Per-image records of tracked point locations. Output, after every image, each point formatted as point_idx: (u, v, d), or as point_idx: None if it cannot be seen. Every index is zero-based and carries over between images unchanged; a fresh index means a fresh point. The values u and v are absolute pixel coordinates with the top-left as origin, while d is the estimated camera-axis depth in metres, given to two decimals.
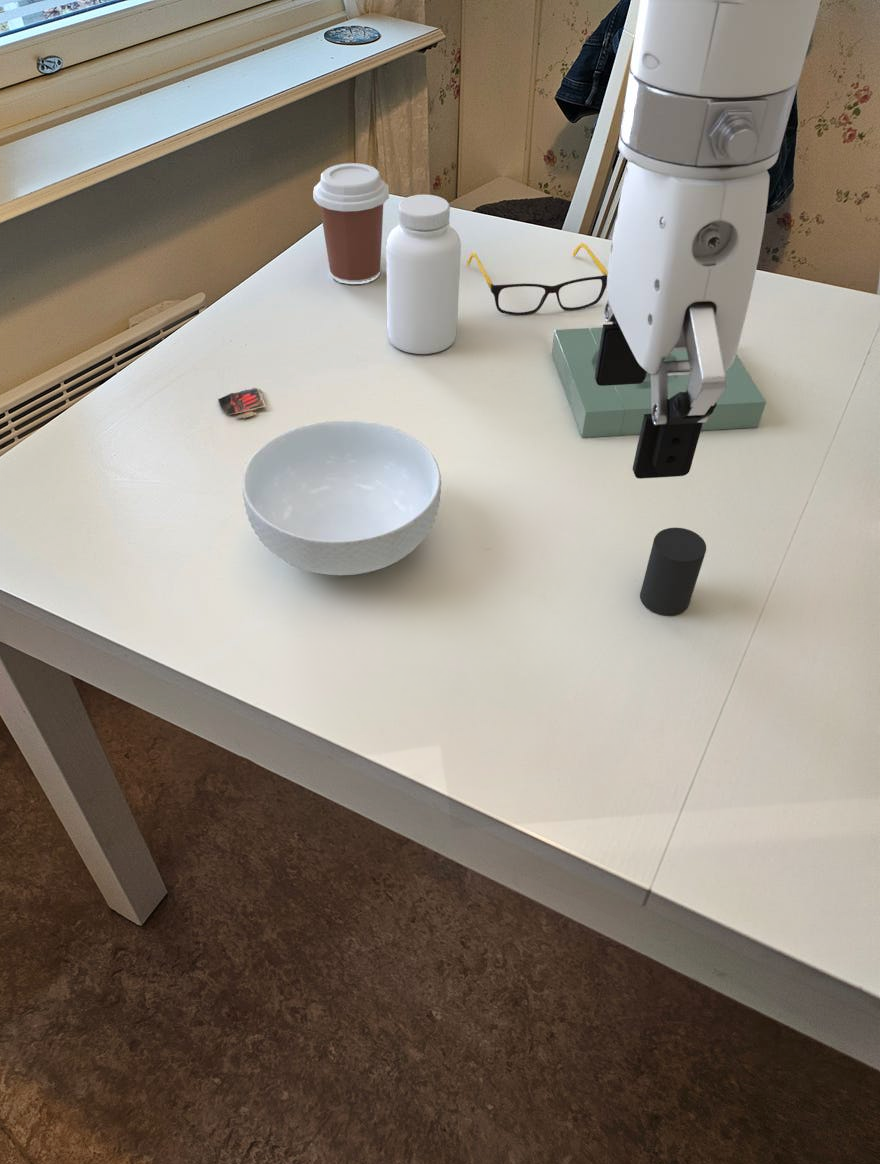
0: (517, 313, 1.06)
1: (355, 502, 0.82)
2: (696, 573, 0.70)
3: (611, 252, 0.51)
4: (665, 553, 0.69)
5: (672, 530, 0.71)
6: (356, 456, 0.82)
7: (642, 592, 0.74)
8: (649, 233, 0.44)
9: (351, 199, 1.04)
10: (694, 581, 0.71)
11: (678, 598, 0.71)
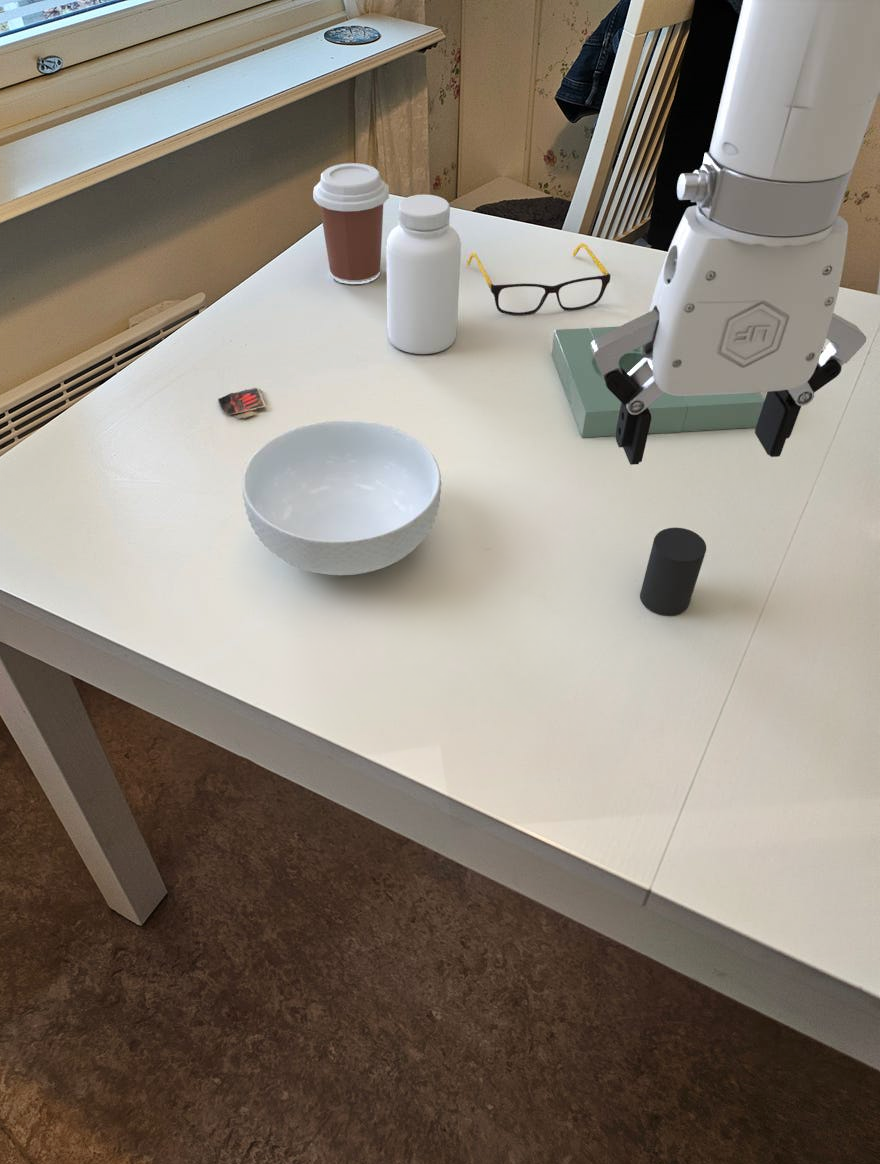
0: (517, 313, 1.06)
1: (355, 502, 0.82)
2: (696, 573, 0.70)
3: None
4: (665, 553, 0.69)
5: (672, 530, 0.71)
6: (356, 456, 0.82)
7: (642, 592, 0.74)
8: None
9: (351, 199, 1.04)
10: (694, 581, 0.71)
11: (678, 598, 0.71)
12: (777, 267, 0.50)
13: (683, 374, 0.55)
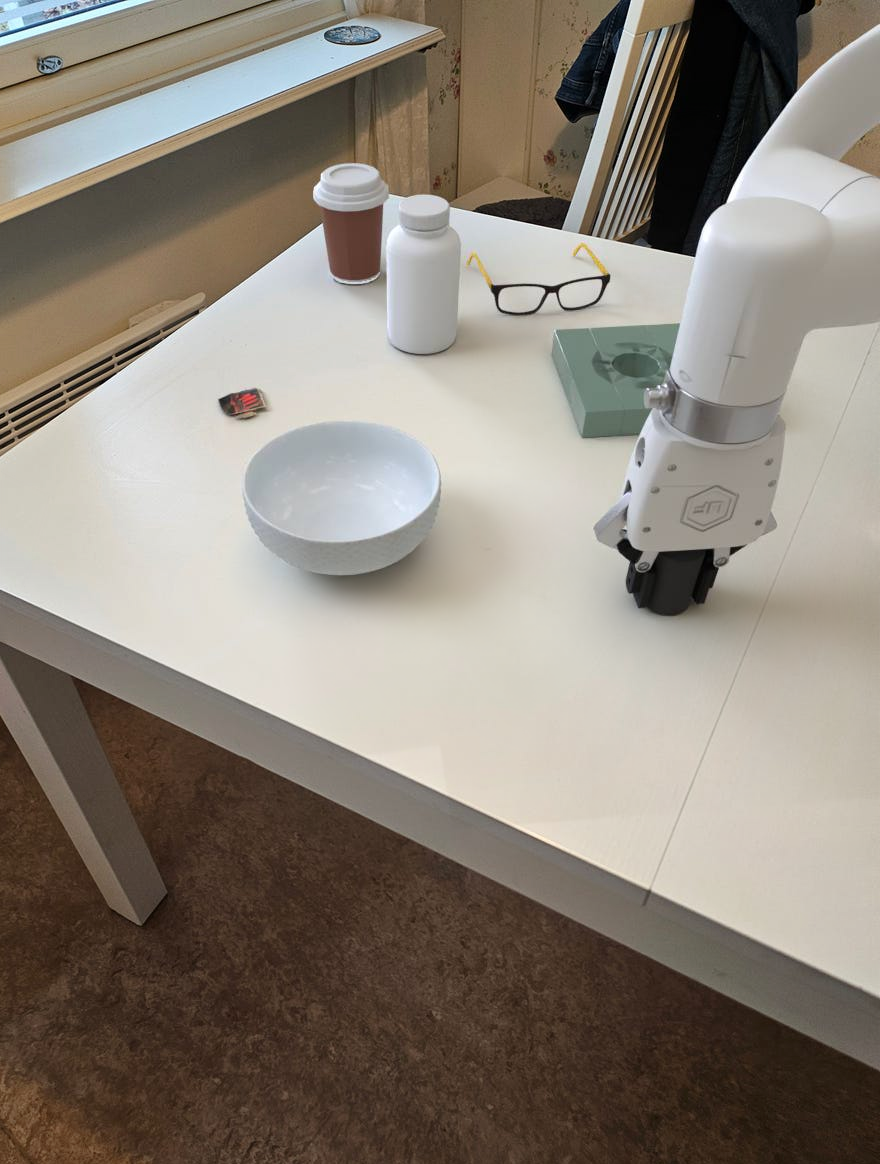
0: (517, 313, 1.06)
1: (355, 502, 0.82)
2: (696, 573, 0.70)
3: None
4: (665, 553, 0.69)
5: None
6: (356, 456, 0.82)
7: None
8: None
9: (351, 199, 1.04)
10: (694, 581, 0.71)
11: (678, 598, 0.71)
12: (727, 461, 0.61)
13: (652, 537, 0.65)
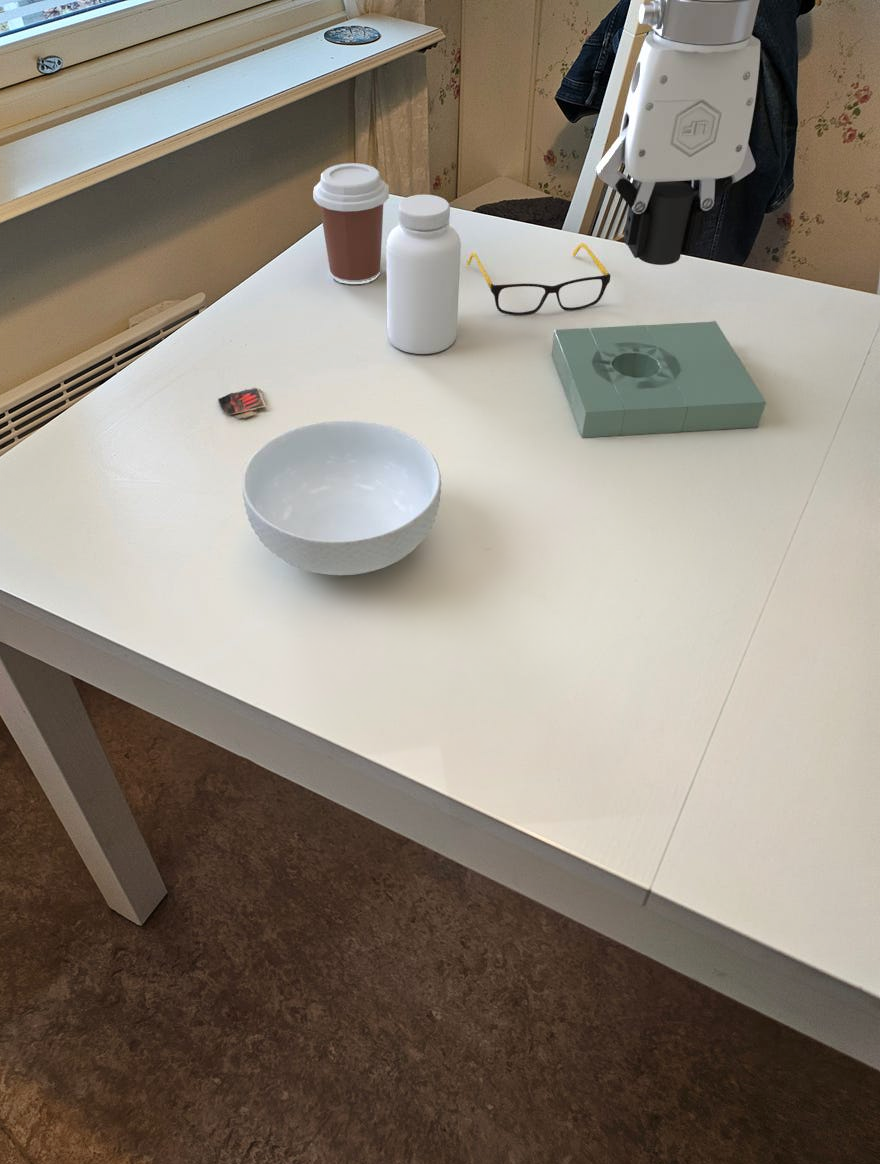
0: (517, 313, 1.06)
1: (355, 502, 0.82)
2: (685, 215, 0.80)
3: None
4: (658, 194, 0.79)
5: None
6: (356, 456, 0.82)
7: None
8: None
9: (351, 199, 1.04)
10: (684, 226, 0.81)
11: (670, 243, 0.82)
12: (710, 72, 0.71)
13: (646, 162, 0.76)
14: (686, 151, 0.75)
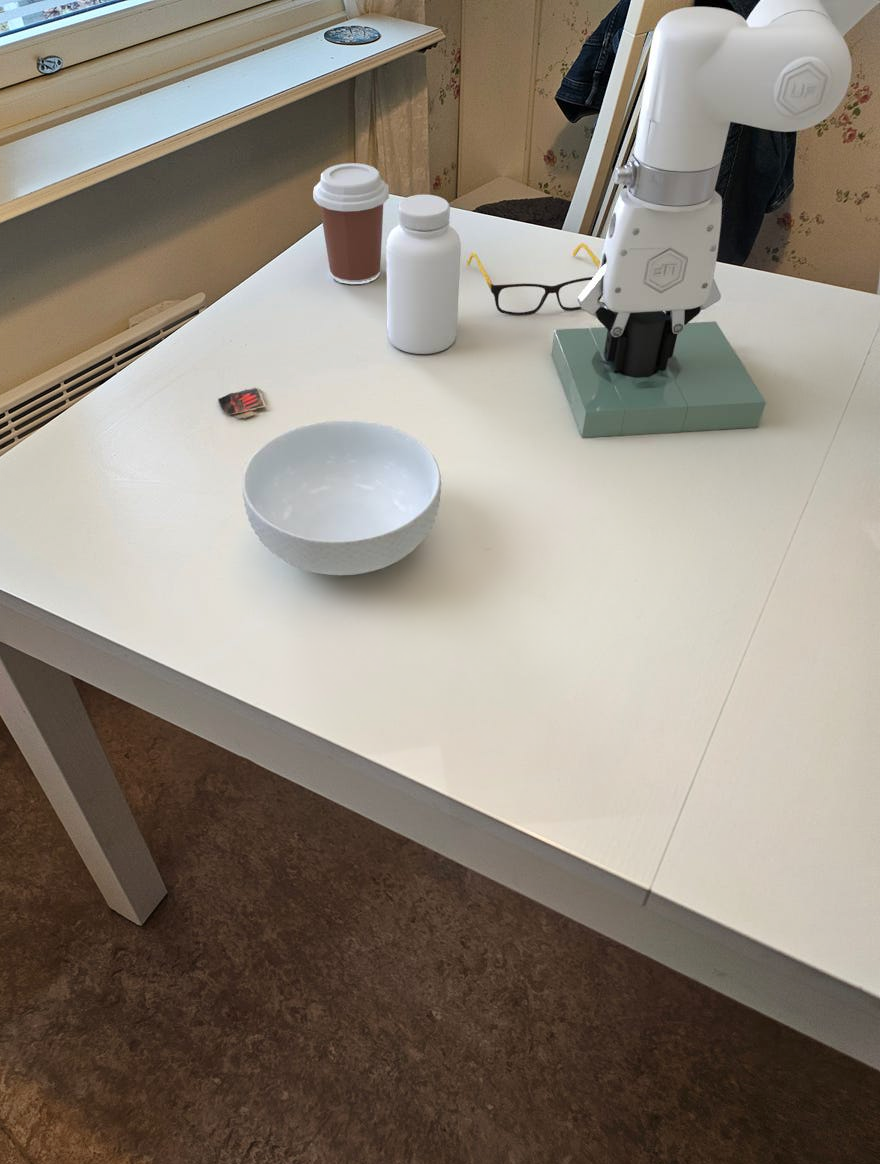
0: (517, 313, 1.06)
1: (355, 502, 0.82)
2: (658, 338, 0.89)
3: None
4: (634, 320, 0.88)
5: None
6: (356, 456, 0.82)
7: None
8: None
9: (351, 199, 1.04)
10: (657, 346, 0.90)
11: (644, 361, 0.91)
12: (677, 225, 0.80)
13: (622, 297, 0.85)
14: (657, 288, 0.84)
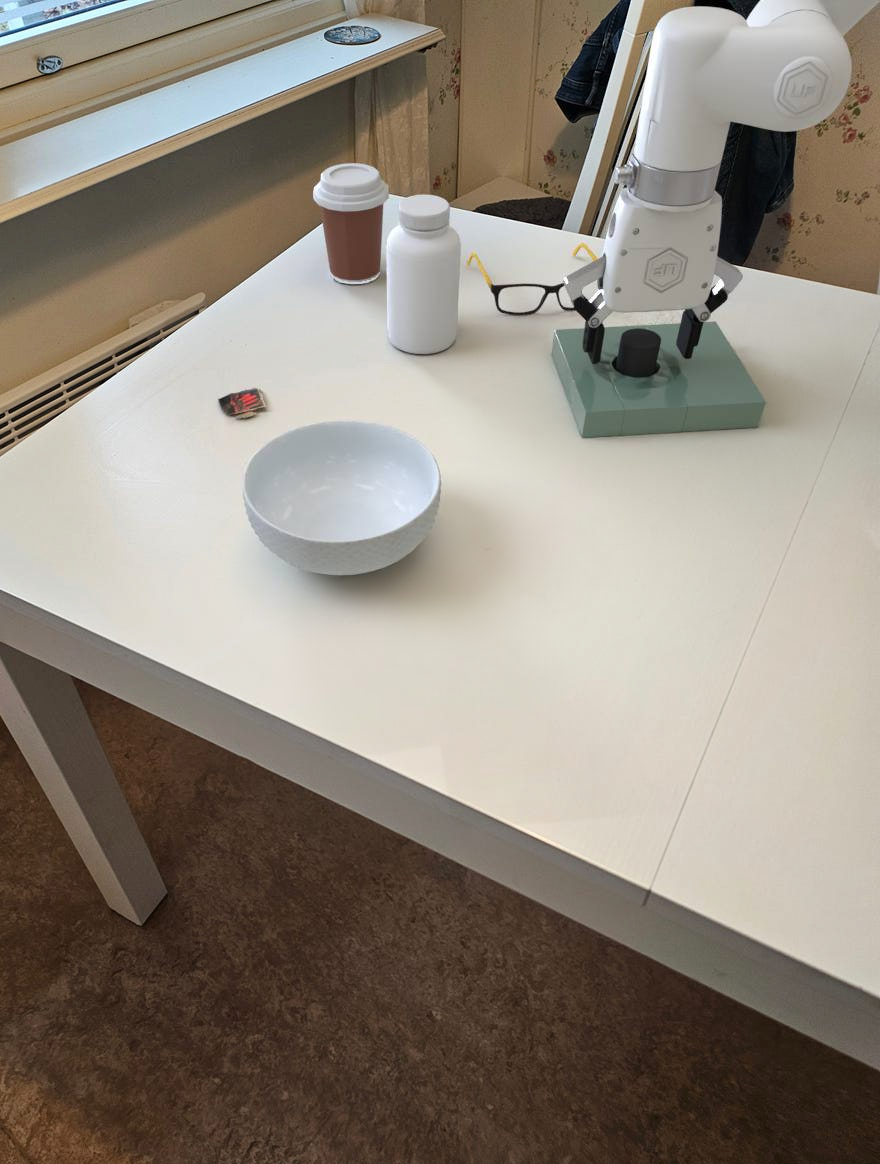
0: (517, 313, 1.06)
1: (355, 502, 0.82)
2: (653, 361, 0.91)
3: None
4: (629, 343, 0.90)
5: (635, 330, 0.92)
6: (356, 456, 0.82)
7: None
8: None
9: (351, 199, 1.04)
10: (652, 369, 0.92)
11: None
12: (677, 225, 0.80)
13: (622, 297, 0.85)
14: (657, 288, 0.84)
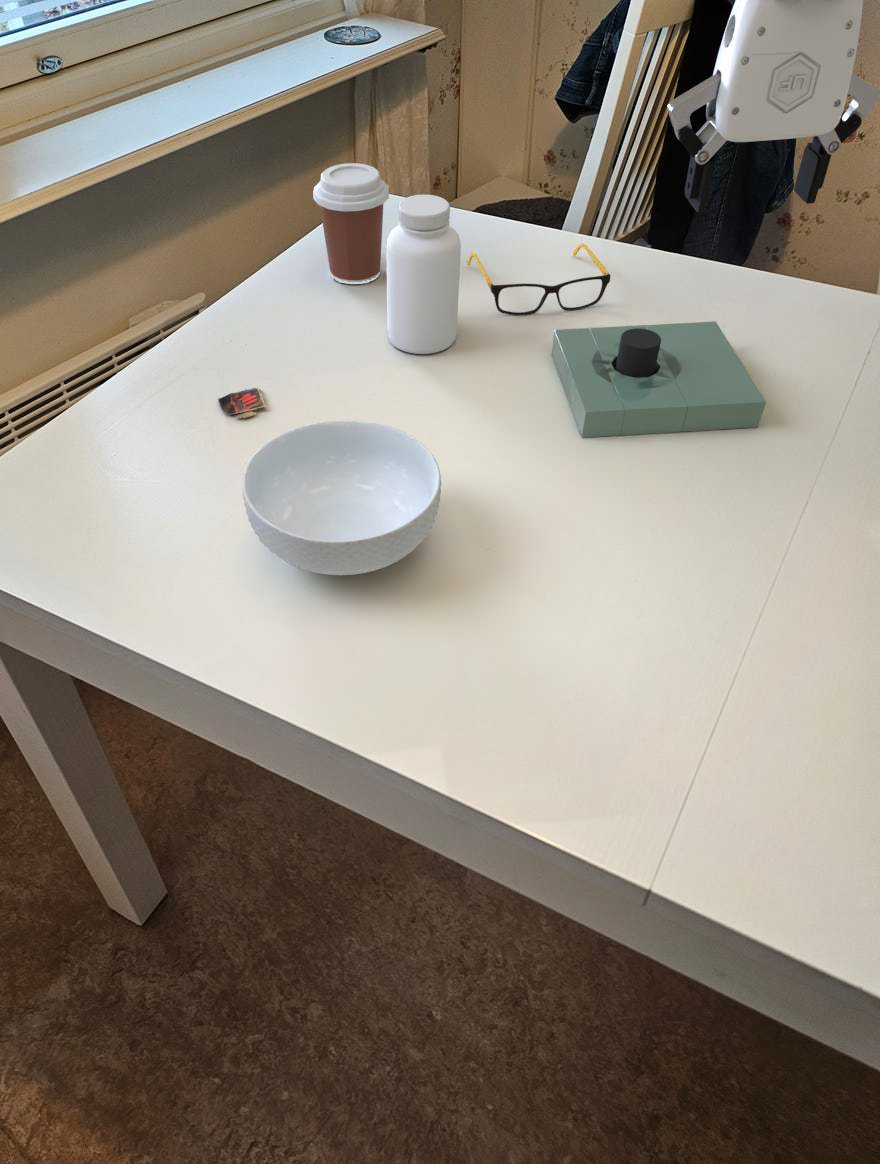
0: (517, 313, 1.06)
1: (355, 502, 0.82)
2: (653, 361, 0.91)
3: None
4: (629, 343, 0.90)
5: (635, 330, 0.92)
6: (356, 456, 0.82)
7: None
8: None
9: (351, 199, 1.04)
10: (652, 369, 0.92)
11: None
12: (811, 22, 0.68)
13: (740, 120, 0.72)
14: (782, 108, 0.72)
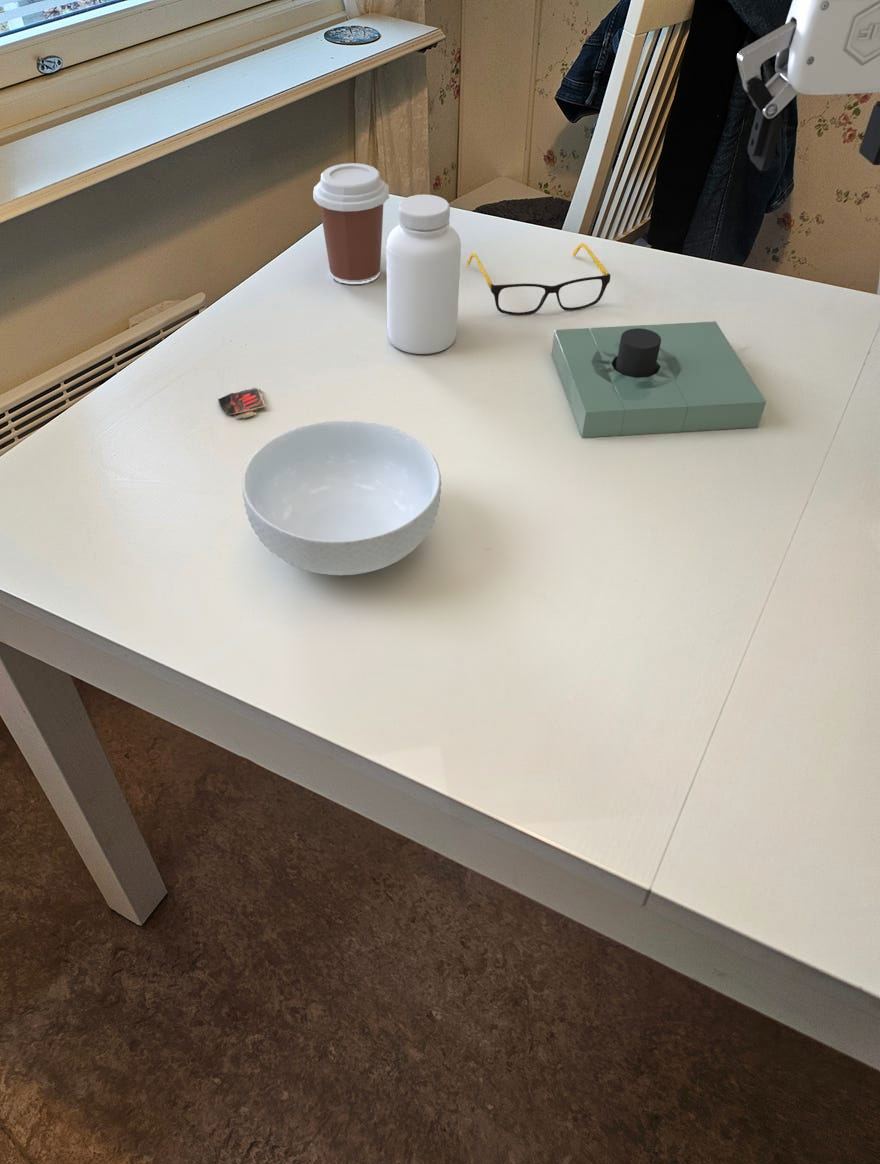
0: (517, 313, 1.06)
1: (355, 502, 0.82)
2: (653, 361, 0.91)
3: None
4: (629, 343, 0.90)
5: (635, 330, 0.92)
6: (356, 456, 0.82)
7: None
8: None
9: (351, 199, 1.04)
10: (652, 369, 0.92)
11: None
12: None
13: (814, 71, 0.69)
14: (859, 59, 0.69)
